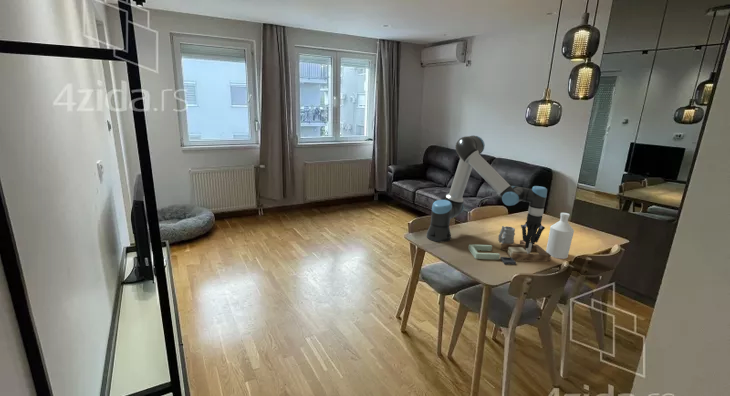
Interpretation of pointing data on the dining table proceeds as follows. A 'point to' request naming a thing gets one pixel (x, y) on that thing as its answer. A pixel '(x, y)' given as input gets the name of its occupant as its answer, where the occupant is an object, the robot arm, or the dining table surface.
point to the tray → (507, 260)
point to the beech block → (516, 250)
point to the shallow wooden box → (540, 256)
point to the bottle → (560, 238)
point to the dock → (477, 255)
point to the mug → (507, 235)
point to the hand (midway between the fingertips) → (527, 253)
